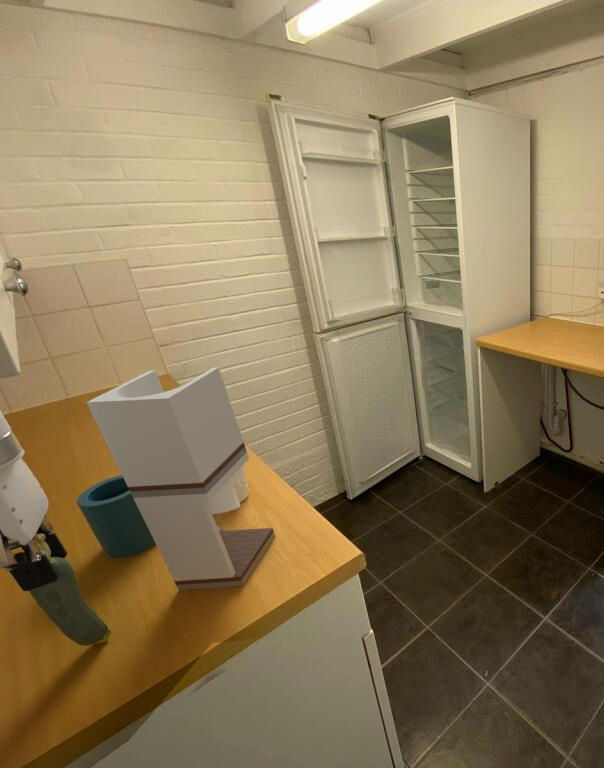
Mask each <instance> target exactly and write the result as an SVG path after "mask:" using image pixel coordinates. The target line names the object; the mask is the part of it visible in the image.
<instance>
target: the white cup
mask: <svg viewBox="0 0 604 768" xmlns="http://www.w3.org/2000/svg"><path fill="white" fill-rule="evenodd" d="M231 481H232V484H233V486H234V489H235V492H236V495H237V497H238V500H239V503H242V502H243V501H245V500H246V499H247V498H248V497H249V495H250V487H249V485H248V478H247V475H246V470H245V466H244V465H243V466H242V467H241V468H240V469H239V470H238V471H237V472H236V473H235V474H234V475H233V476H232V478H231Z"/></svg>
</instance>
